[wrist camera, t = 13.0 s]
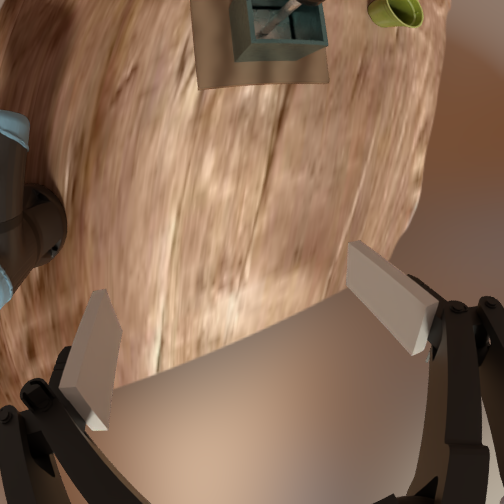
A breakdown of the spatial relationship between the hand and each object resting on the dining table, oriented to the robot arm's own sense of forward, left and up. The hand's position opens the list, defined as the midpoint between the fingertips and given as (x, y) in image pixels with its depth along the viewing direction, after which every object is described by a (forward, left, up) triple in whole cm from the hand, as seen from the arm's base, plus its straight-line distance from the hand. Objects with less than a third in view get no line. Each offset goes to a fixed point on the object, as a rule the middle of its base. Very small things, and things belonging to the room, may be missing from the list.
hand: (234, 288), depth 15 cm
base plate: (+13, +23, -37) cm, 45 cm away
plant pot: (+39, +31, -37) cm, 62 cm away
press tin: (+13, +23, -35) cm, 44 cm away
